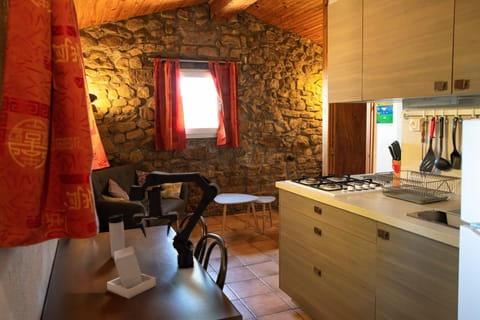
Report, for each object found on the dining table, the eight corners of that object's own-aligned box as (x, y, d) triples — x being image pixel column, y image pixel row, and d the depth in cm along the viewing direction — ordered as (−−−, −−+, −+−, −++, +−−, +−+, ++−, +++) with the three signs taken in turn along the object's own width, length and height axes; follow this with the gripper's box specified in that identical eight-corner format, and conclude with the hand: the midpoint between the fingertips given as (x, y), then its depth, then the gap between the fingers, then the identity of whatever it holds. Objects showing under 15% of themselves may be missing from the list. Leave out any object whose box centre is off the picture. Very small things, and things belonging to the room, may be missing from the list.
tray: (134, 278, 152) (134, 270, 151) (155, 285, 144) (155, 277, 144) (107, 290, 142) (106, 282, 141) (128, 298, 134) (127, 290, 134)
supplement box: (143, 283, 141) (134, 253, 138) (123, 290, 139) (113, 260, 136) (141, 273, 148) (133, 245, 145) (122, 279, 146) (113, 251, 143)
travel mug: (121, 259, 173) (118, 216, 171) (108, 258, 175) (105, 216, 173) (128, 254, 180) (125, 213, 177) (115, 253, 181) (112, 212, 179)
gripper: (177, 196, 169) (179, 230, 171) (135, 198, 167) (137, 232, 169) (176, 201, 158) (178, 237, 160) (131, 204, 156) (133, 240, 158)
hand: (156, 236), depth 162 cm, fingers open, 9 cm apart
